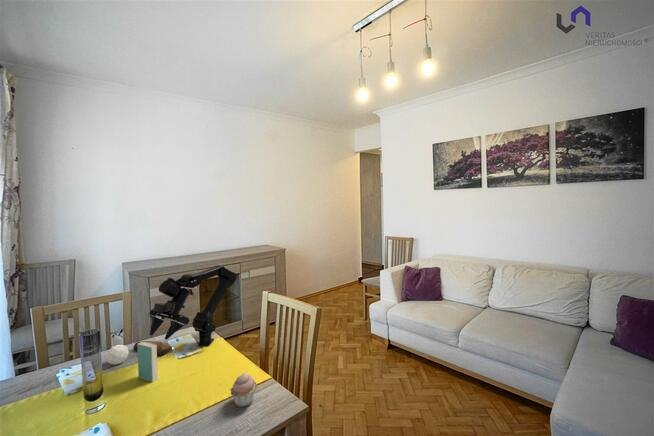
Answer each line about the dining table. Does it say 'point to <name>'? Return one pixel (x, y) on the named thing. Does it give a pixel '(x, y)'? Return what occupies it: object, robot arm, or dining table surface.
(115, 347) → the geometric ball
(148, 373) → the wooden block
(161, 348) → the sunglasses case
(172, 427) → the dining table surface
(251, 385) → the cupcake
